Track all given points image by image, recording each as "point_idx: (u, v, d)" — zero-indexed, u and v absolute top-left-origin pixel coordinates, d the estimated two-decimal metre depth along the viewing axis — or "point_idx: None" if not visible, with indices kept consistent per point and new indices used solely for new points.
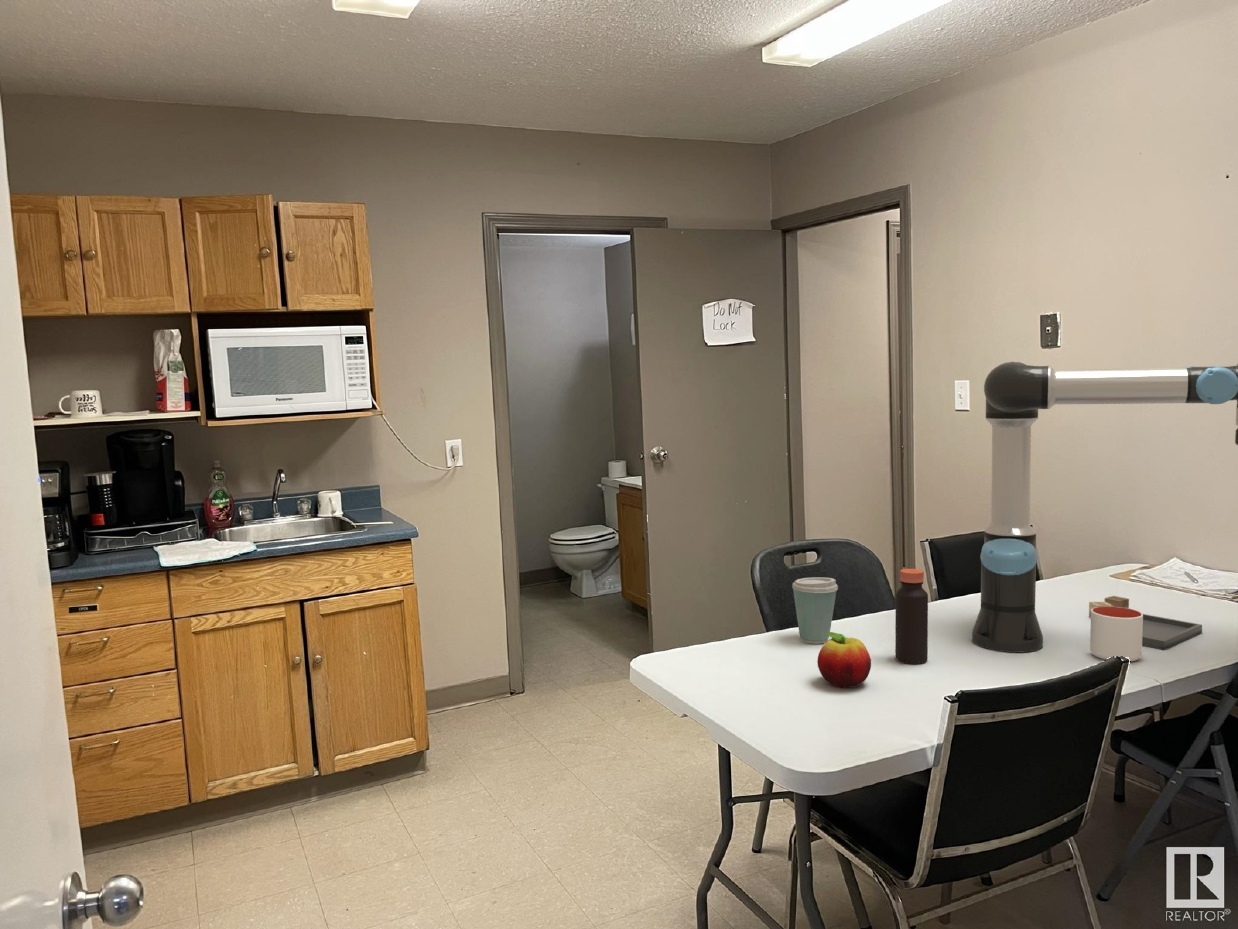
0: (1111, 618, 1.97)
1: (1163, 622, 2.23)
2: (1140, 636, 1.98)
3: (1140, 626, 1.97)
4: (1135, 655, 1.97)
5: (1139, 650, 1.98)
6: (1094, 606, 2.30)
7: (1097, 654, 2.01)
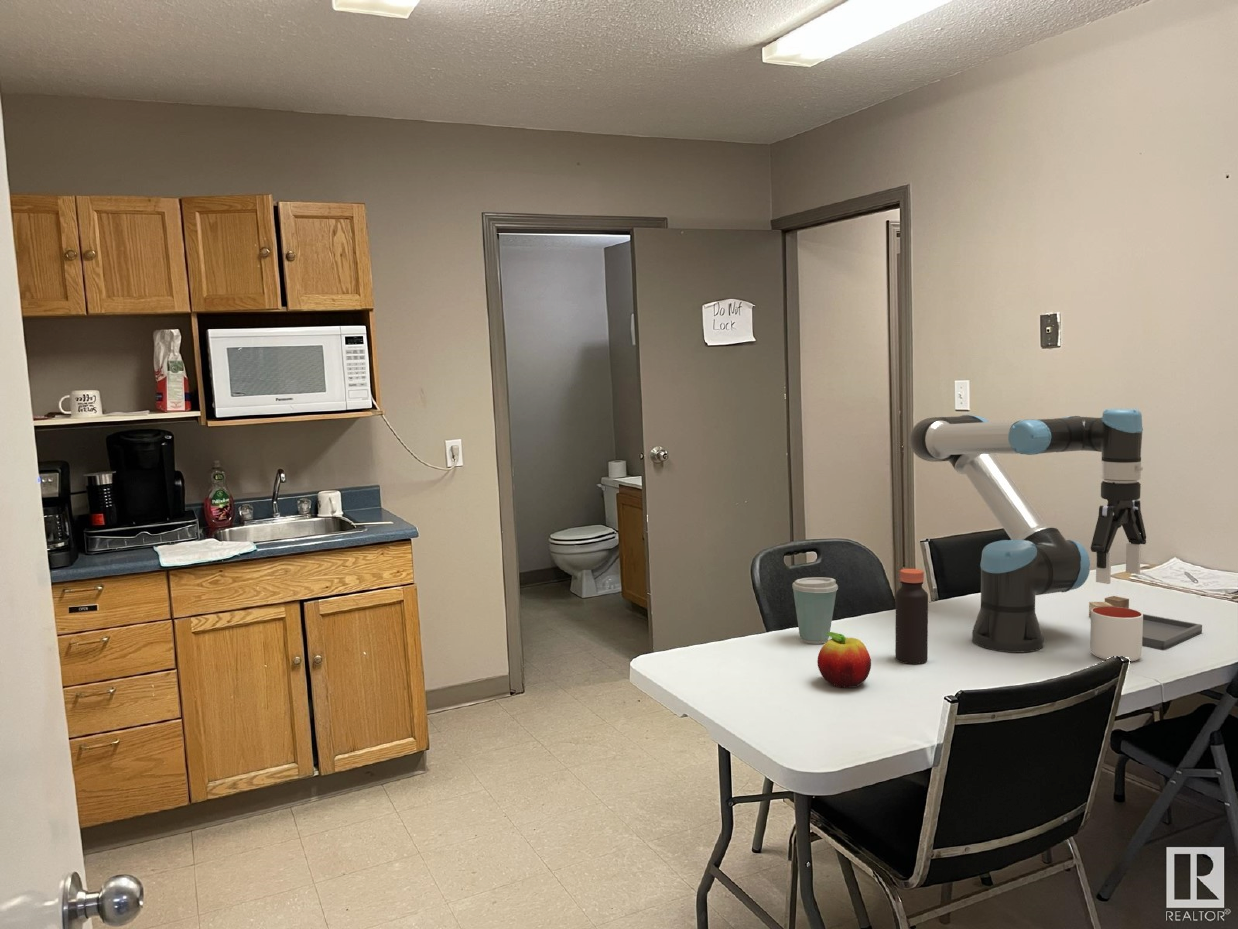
0: (1111, 618, 1.97)
1: (1163, 622, 2.23)
2: (1140, 636, 1.98)
3: (1140, 626, 1.97)
4: (1135, 655, 1.97)
5: (1139, 650, 1.98)
6: (1094, 606, 2.30)
7: (1097, 654, 2.01)
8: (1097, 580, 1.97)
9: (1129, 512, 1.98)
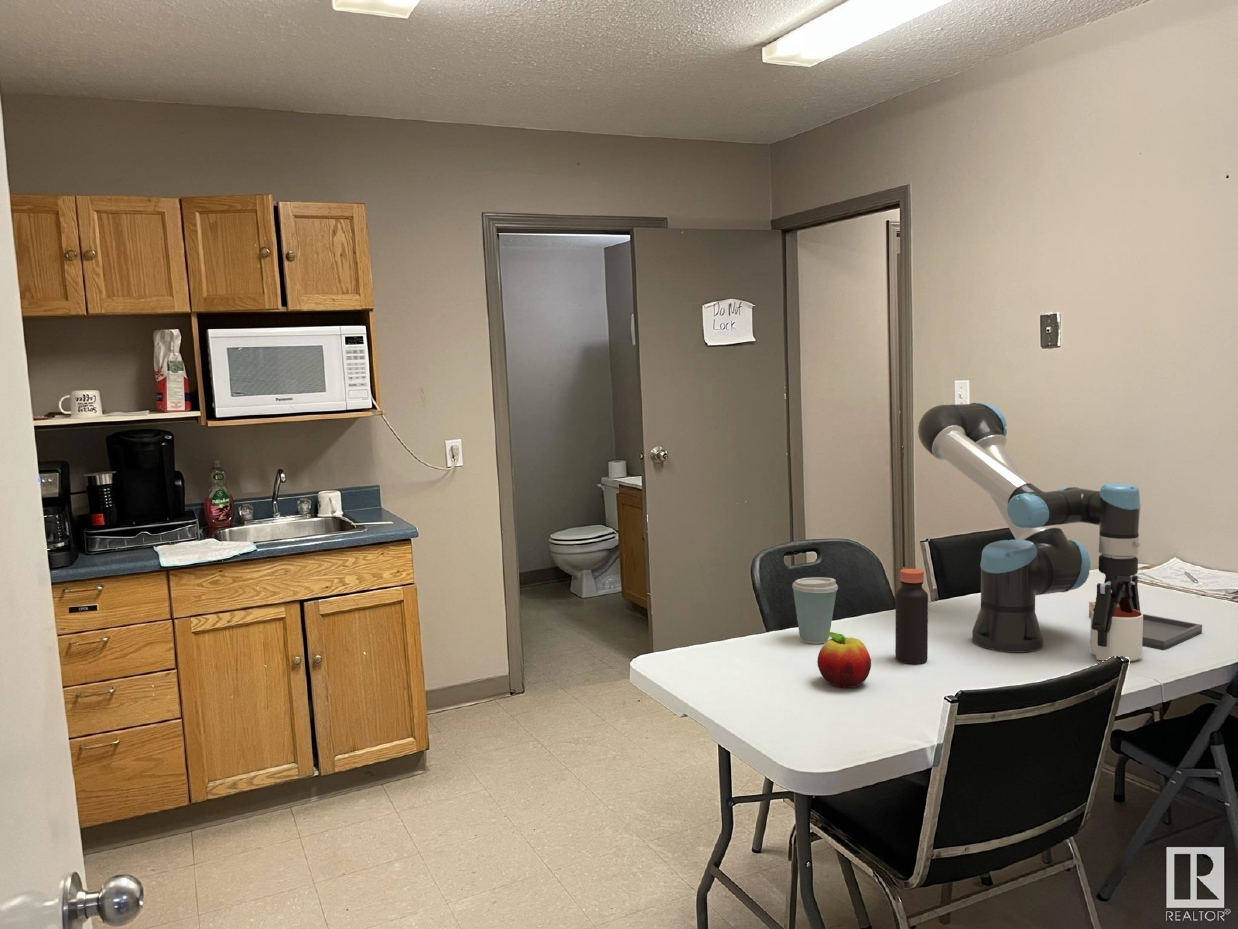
0: None
1: (1163, 622, 2.23)
2: (1140, 635, 1.98)
3: (1140, 626, 1.97)
4: (1135, 655, 1.97)
5: (1139, 650, 1.98)
6: (1094, 606, 2.30)
7: None
8: (1098, 657, 1.99)
9: (1126, 586, 2.00)
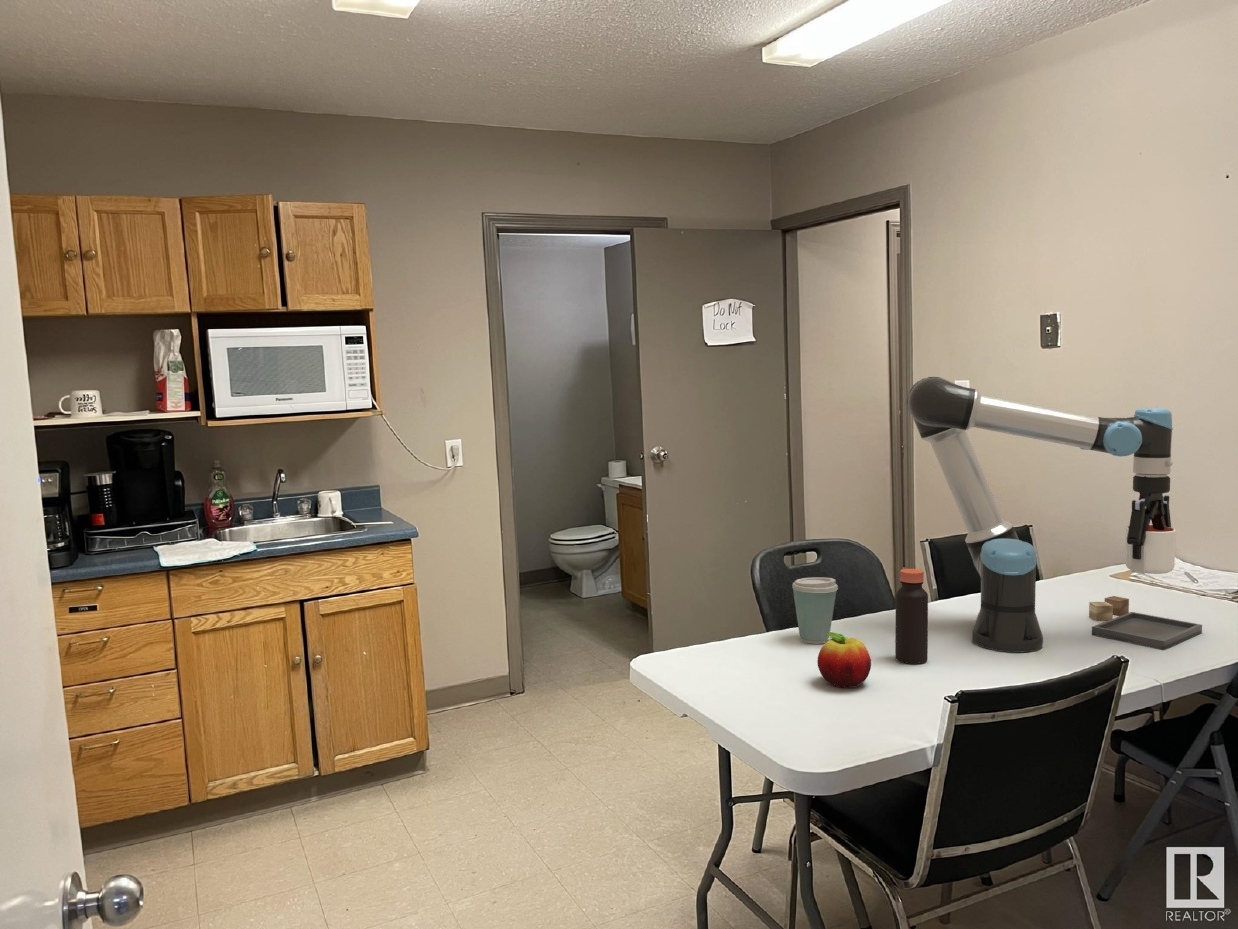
0: (1146, 532, 2.11)
1: (1163, 622, 2.23)
2: (1173, 549, 2.12)
3: (1173, 540, 2.11)
4: (1168, 567, 2.11)
5: (1172, 563, 2.12)
6: (1094, 606, 2.30)
7: None
8: (1132, 570, 2.14)
9: (1159, 504, 2.14)
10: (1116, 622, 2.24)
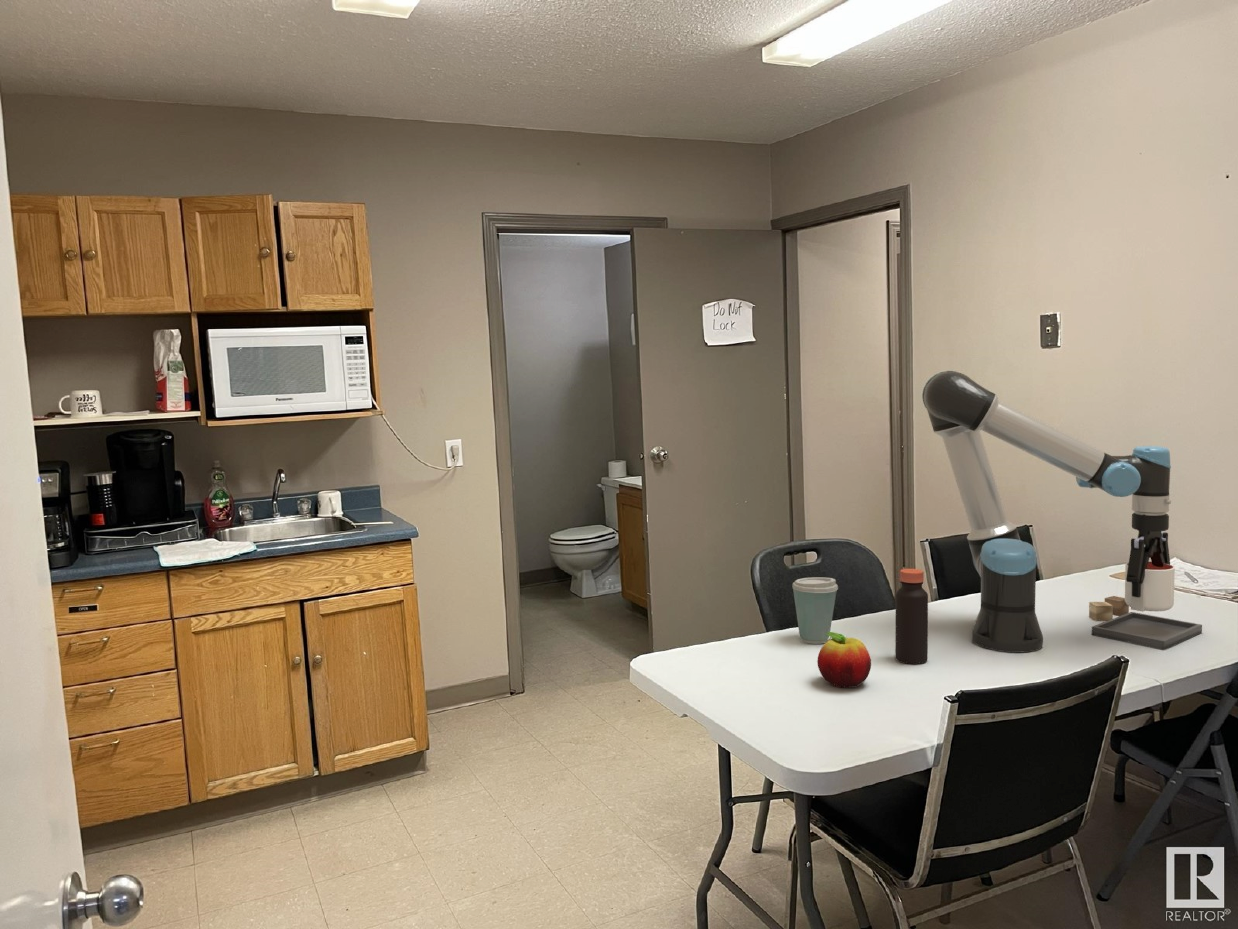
0: (1145, 570, 2.12)
1: (1163, 622, 2.23)
2: (1172, 587, 2.13)
3: (1172, 578, 2.12)
4: (1168, 605, 2.12)
5: (1172, 600, 2.13)
6: (1094, 606, 2.30)
7: None
8: (1132, 608, 2.15)
9: (1158, 541, 2.15)
10: (1116, 622, 2.24)
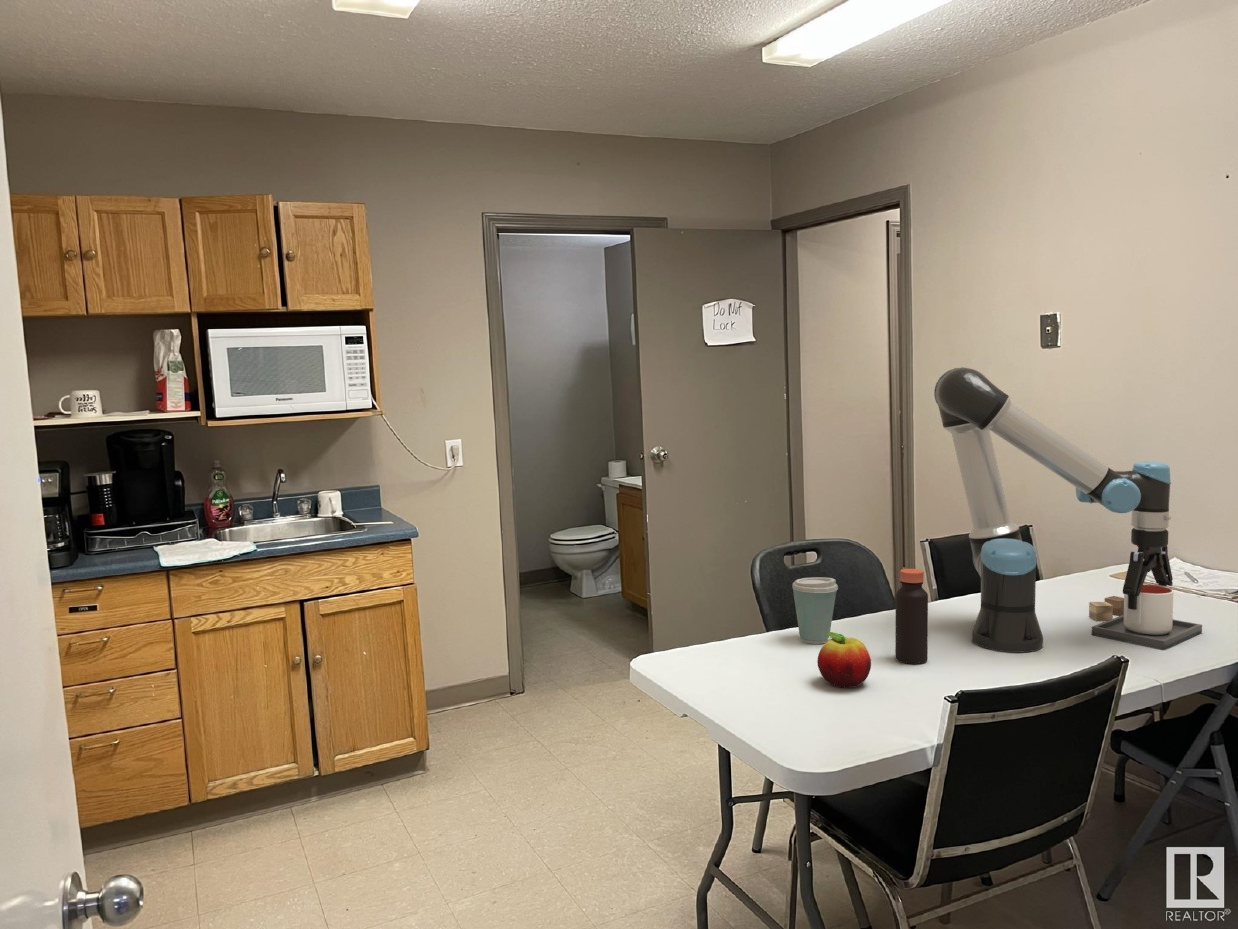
0: (1144, 594, 2.13)
1: None
2: (1171, 610, 2.14)
3: (1171, 601, 2.13)
4: (1166, 628, 2.13)
5: (1170, 624, 2.14)
6: (1094, 606, 2.30)
7: (1131, 628, 2.16)
8: (1128, 620, 2.14)
9: (1157, 557, 2.15)
10: (1116, 622, 2.24)
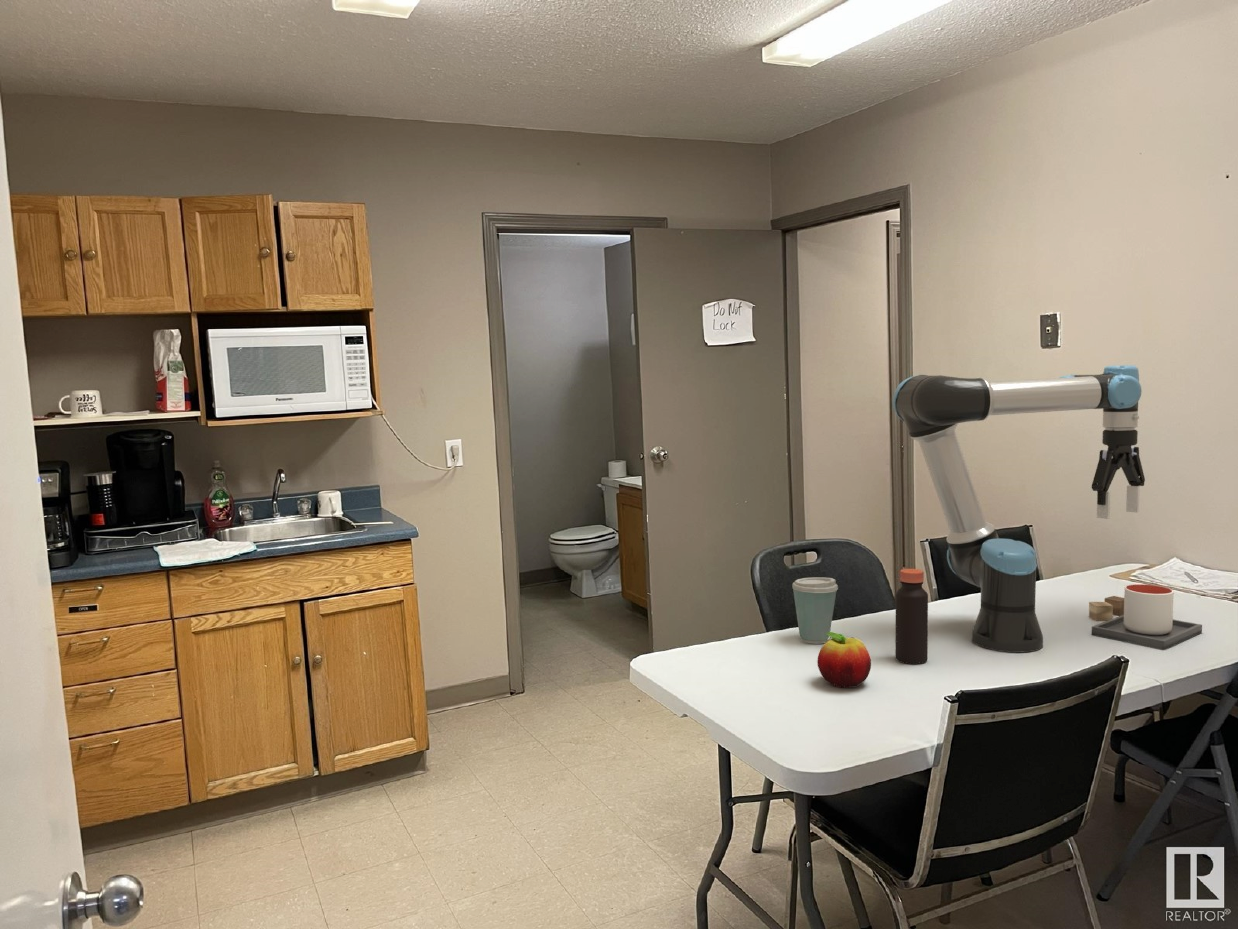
0: (1144, 594, 2.13)
1: None
2: (1171, 610, 2.14)
3: (1171, 602, 2.13)
4: (1166, 628, 2.13)
5: (1170, 624, 2.14)
6: (1094, 606, 2.30)
7: (1131, 628, 2.16)
8: (1098, 516, 2.24)
9: (1127, 456, 2.25)
10: (1116, 622, 2.24)
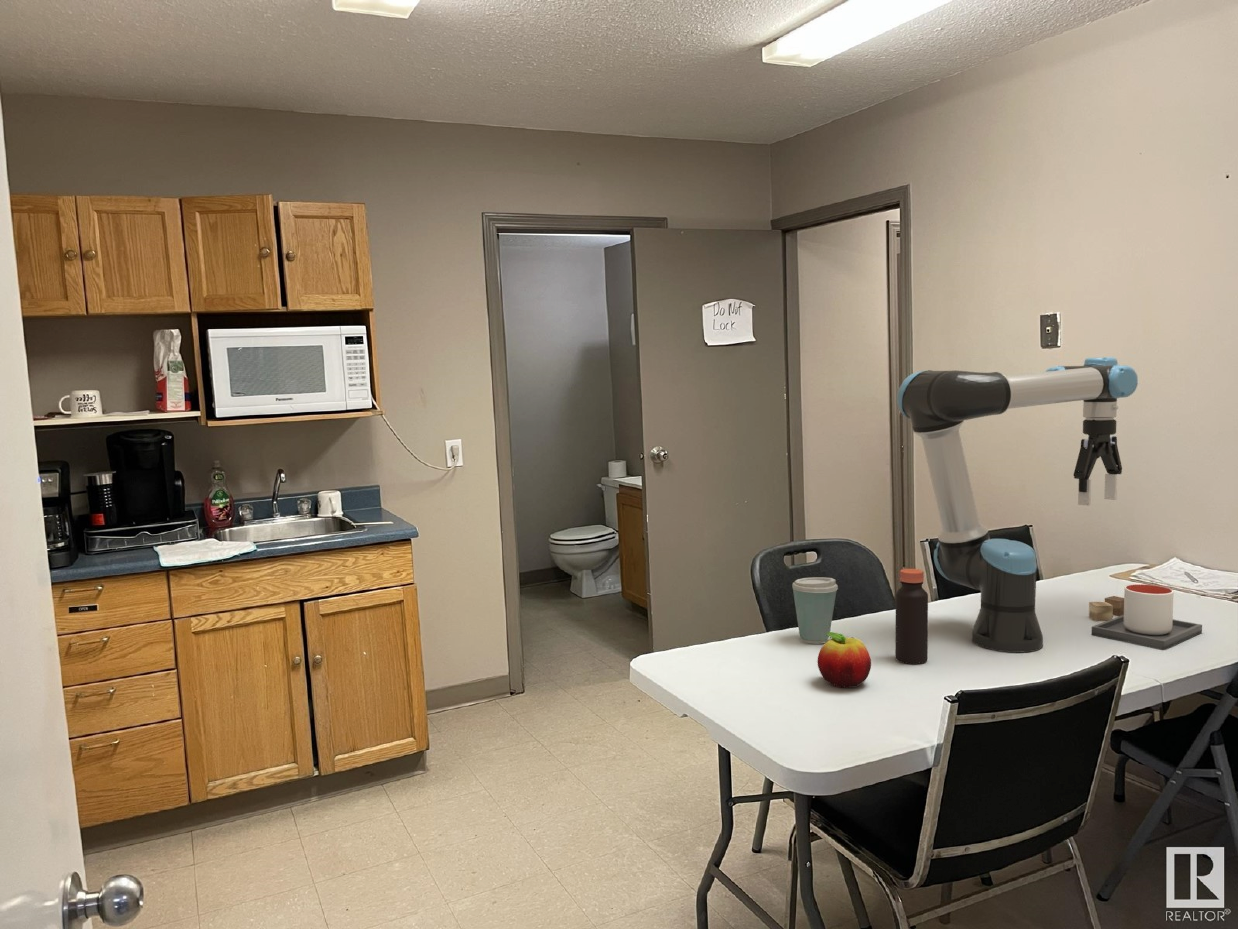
0: (1144, 594, 2.13)
1: None
2: (1171, 610, 2.14)
3: (1171, 602, 2.13)
4: (1166, 628, 2.13)
5: (1170, 624, 2.14)
6: (1094, 606, 2.30)
7: (1131, 628, 2.16)
8: (1079, 503, 2.31)
9: (1107, 445, 2.32)
10: (1116, 622, 2.24)
